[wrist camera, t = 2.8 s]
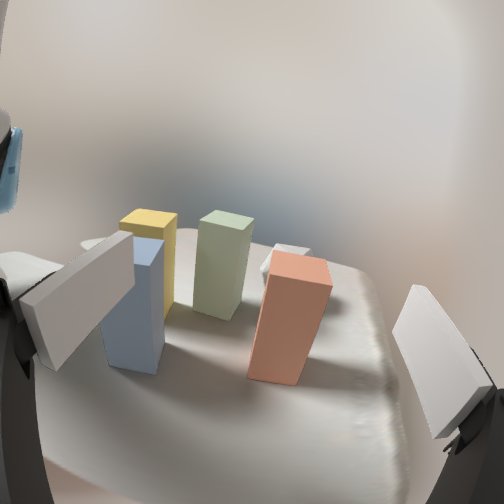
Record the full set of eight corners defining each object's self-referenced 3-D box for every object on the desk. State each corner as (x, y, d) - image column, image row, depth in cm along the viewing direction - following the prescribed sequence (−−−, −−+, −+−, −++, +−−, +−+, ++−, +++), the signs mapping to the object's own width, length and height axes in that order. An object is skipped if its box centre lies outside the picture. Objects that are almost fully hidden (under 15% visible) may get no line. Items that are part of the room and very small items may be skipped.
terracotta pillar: (246, 377, 26) (269, 274, 22) (252, 346, 31) (273, 249, 26) (295, 386, 26) (332, 285, 21) (295, 353, 31) (325, 259, 26)
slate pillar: (109, 365, 24) (90, 257, 19) (122, 334, 28) (113, 233, 24) (156, 375, 24) (149, 265, 20) (164, 341, 29) (164, 240, 24)
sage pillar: (192, 309, 35) (199, 220, 30) (207, 291, 40) (216, 210, 35) (229, 321, 34) (242, 230, 30) (240, 301, 39) (254, 218, 34)
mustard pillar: (125, 315, 31) (119, 221, 27) (139, 294, 36) (138, 208, 31) (162, 324, 32) (163, 227, 27) (173, 301, 36) (177, 213, 31)
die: (308, 290, 46) (286, 236, 45) (339, 293, 38) (314, 228, 37) (266, 313, 43) (242, 256, 43) (291, 322, 35) (262, 252, 35)
